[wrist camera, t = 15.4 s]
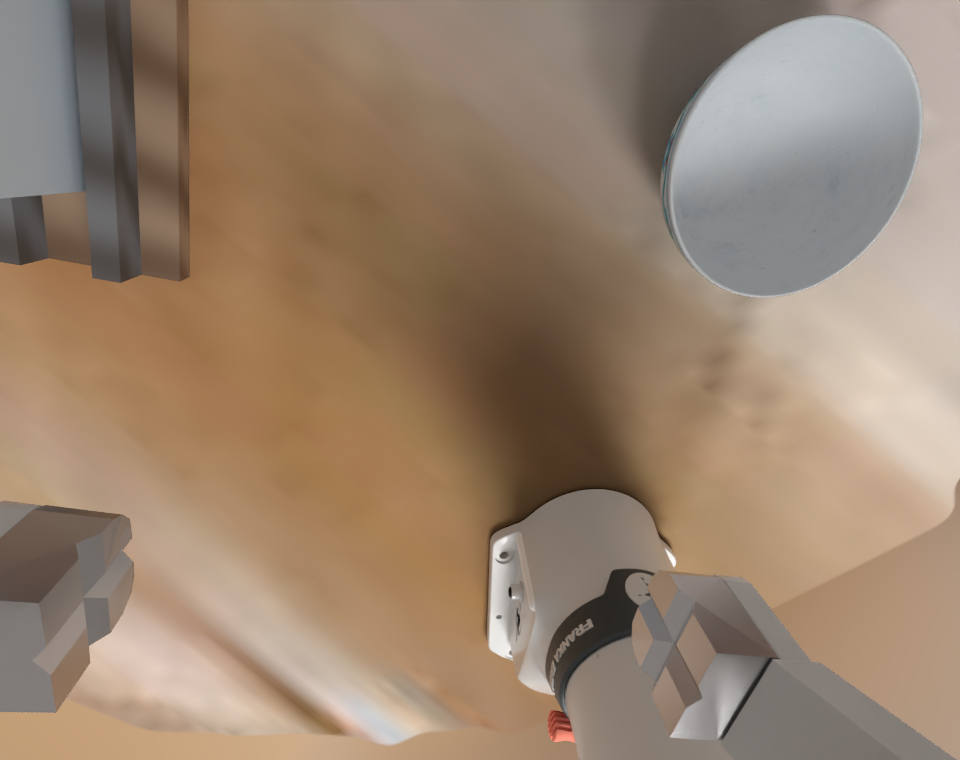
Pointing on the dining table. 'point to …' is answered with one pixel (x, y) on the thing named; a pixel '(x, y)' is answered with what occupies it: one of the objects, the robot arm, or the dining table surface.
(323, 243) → the dining table surface
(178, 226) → the track base
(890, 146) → the chinaware
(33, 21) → the door panel
